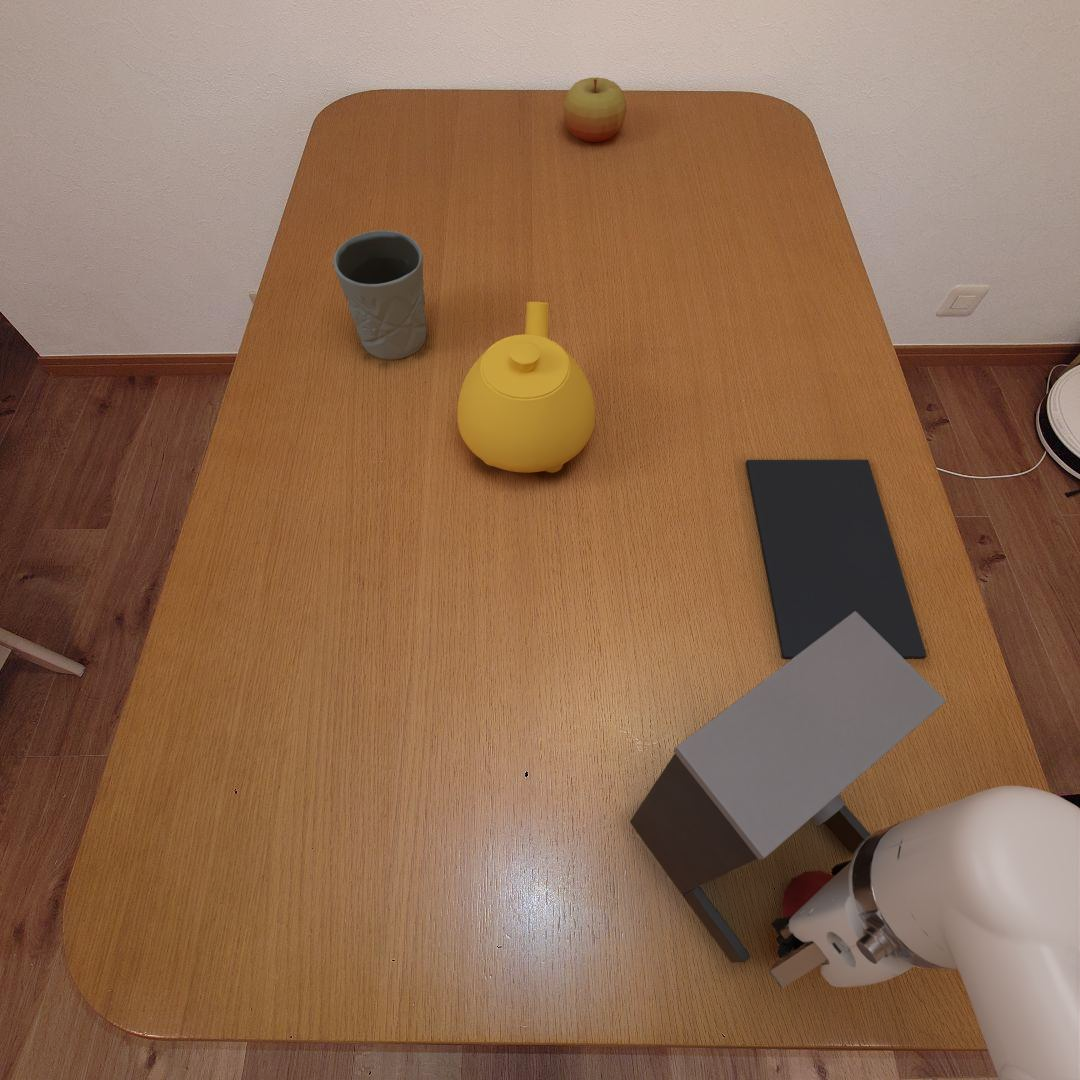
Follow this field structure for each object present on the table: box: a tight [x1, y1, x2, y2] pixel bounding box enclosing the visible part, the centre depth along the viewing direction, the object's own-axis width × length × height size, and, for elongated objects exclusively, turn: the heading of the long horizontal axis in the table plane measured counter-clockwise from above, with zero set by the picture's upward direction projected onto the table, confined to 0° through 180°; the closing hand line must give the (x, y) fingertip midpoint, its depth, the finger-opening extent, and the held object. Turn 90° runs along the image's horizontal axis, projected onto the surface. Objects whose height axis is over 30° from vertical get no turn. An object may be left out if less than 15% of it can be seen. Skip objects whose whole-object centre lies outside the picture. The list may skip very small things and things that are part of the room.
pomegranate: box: [780, 870, 834, 918], centre depth 55 cm, size 6×6×8 cm
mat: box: [745, 459, 927, 660], centre depth 76 cm, size 24×14×1 cm, turn 0°
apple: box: [563, 77, 627, 143], centre depth 113 cm, size 10×10×8 cm
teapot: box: [456, 301, 596, 474], centre depth 79 cm, size 20×16×14 cm
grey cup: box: [332, 229, 428, 361], centre depth 88 cm, size 10×10×12 cm
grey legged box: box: [629, 611, 947, 964], centre depth 51 cm, size 13×15×25 cm
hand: (818, 912), depth 56 cm, fingers closed on pomegranate, 5 cm apart
